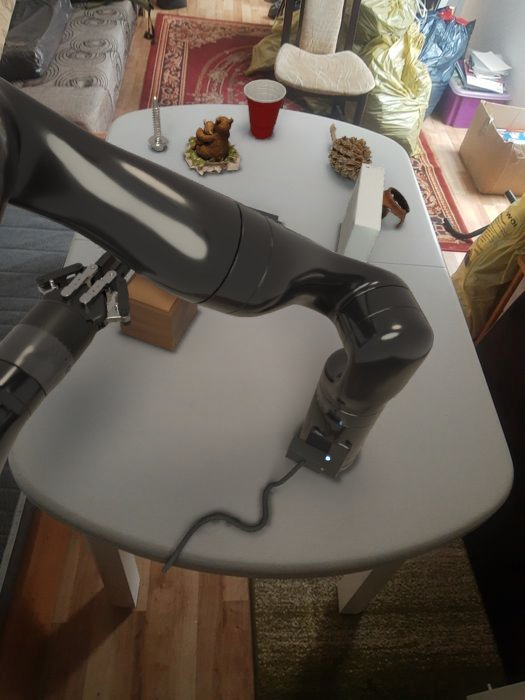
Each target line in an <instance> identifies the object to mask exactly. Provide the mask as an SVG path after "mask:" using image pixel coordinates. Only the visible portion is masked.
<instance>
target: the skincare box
mask: <svg viewBox="0 0 525 700" xmlns="http://www.w3.org/2000/svg"><path fill="white" fill-rule="evenodd" d="M385 174H386V168H385V167H380V166H377V165H372V164H365V163H362V166H361V169H360V172H359V175H358V178H357V180H355V181H356V182H355V184H354V188H353V190H352V193H351V195H350V198H349V201H348V205H347V207H346V210H345V213H344V216H343V219H342V221H341V225H340V232H339V238H338V244H337V250H336V252H337V253H339V254H342V255H345V256H347V257H350V258H353V259H356V260H359V261H362V262H365V263H368V261H369V258H370V255H371V253H372V251H373V248H374V246H375V244H376V241H377V239H378V236H379V234H380V232H381V229H382V228H381V227H382V220H381V215H382V202H383V191H384V190H385V189H384V188H385V187H384V186H385Z"/></svg>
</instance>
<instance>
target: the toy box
mask: <svg viewBox="0 0 525 700" xmlns="http://www.w3.org/2000/svg"><path fill="white" fill-rule="evenodd" d="M126 281H127V287H128V293H129V303H130V314H131V324H130V325H128V326H124V325H122V324H121V322H119V326H120V331H121V333H122V334H125V335H129V337H130V336H131V337H133V338H137V339H139V340H142V341H144V342H147V343H150V344H152V345H155V346H157V347H161V348H163V349H167V350H169V351H172V352H173V351H174V350H175V348H176V347H177V346H178V344H179V342H180V341H181V339H182V338H183V336H184V334H185V333H186V331H187V329H189V326H190V324H191V323H192V321H193V320H194V319H195V317H196V315H197V313H198V305H197V304H194V303H190V302H188V301H185V300H183V299H180V298H178V297H175V296H173V295H171V294H169V293H167V292H165V291H163V290H162V289H160V288H158V287H157V286H155V285H153V284H152V283H150V282H149V281H147V280H146V279H144V278H143V277H142V276H140V275H139V274H137V273H136V272H134V271H133V274H131V276H130V277H129V278H128V280H126ZM114 300H115V302H114V303H118V293H117V294H115V296H114Z"/></svg>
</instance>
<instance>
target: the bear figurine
mask: <svg viewBox="0 0 525 700" xmlns="http://www.w3.org/2000/svg"><path fill="white" fill-rule="evenodd" d="M202 121H203V127H201V126H200V127H198V128H197V129H196V131H195V136H190V137H189V138H188V141H187V142H188V146H186V149H185V150H184V151H183V156H184V157H185V158H184V161H186V163H187V165H188V166H189V167H190V169H196V171H197V173H198V174H199V175H201V176H204V172H207V173H208V174H216V173H217V174H220V173H221V172H222V170H226V171H239V168H240V164H241V160H242V157H241V156H240V153H239V151H238V149H237V148H236V147H235V146H236V145H237V144H235V143H234V144H233V143H232V142H231V141H229V139H230V137H231V132H230V131H231V129H232V125H233V123H234V121H235V120H234V118H233V117H232V116H231V117H230V118H228V117H226V116H225V115H221V114H220V115H218V116H216V117H215V121H212V120H208V121H207V120H206V118H203V120H202ZM213 171H215V172H213Z"/></svg>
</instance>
